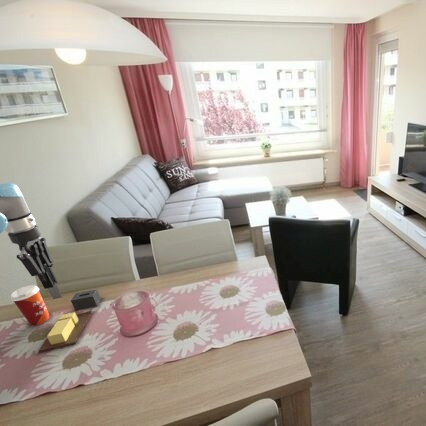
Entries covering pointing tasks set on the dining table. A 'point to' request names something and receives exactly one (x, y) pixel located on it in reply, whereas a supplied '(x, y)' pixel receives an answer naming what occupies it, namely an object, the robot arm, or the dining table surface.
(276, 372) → the dining table surface
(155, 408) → the dining table surface
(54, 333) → the butter stick
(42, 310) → the coffee cup
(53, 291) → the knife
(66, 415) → the dining table surface
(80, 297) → the dark grey block
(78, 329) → the butter board
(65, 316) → the butter pat
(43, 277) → the robot arm
